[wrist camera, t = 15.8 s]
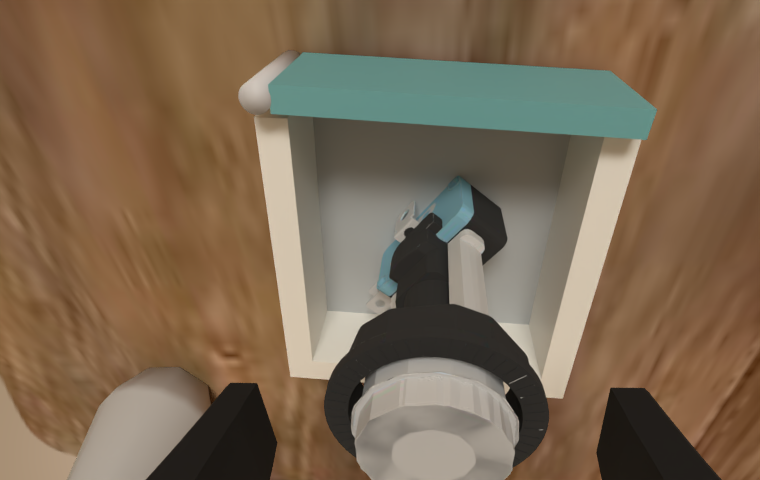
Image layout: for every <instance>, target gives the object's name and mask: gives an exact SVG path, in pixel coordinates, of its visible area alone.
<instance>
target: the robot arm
mask: <svg viewBox="0 0 760 480" xmlns="http://www.w3.org/2000/svg"><path fill="white" fill-rule="evenodd" d="M276 447H277V441H276V438H275V435H274V432H273V429H272V426H271V423H270V420H269V417H268V414H267V411H266V408H265V405H264V403H263V400H262V397H261V394H260V391H259V388H258V385H257V383H230V384H229V385H228V386H227V387H226V388H225V389H224V390H223V391H222V393H221V394H220V395H219V396H218V397H217V398H216V400H215V401H214V402H213V403H212V404H211V405H210V407H209V408H208V409H207V410H206V411H205V413H204V414H203V415H202V416H201V417H200V418H199V420H198V421H197V422H196V423H195V424H194V425H193V427H192V428H191V429H190V430H189V431H188V432H187V434H186V435H185V436H184V437H183V438H182V439H181V441H180V442H179V443H178V444H177V445H176V446H175V447H174V448H173V450H172V451H171V452H170V453H169V454H168V455H167V456H166V457H165V459H164V460H163V461H162V462H161V463H160V464H159V465H158V466H157V468H156V469H155V470H154V471H153V472H152V473H151V474H150V475H149V476H148V478H147V479H146V480H270V476H271V471H272V467H273V462H274V457H275V452H276ZM596 453H597V458H598V463H599V467H600V472H601V477H602V480H721V479H720V478H719V477H718V475H717V474H716V473H715V472H714V471H713V470H712V468H711V467H710V466H709V465H708V464H707V463H706V461H705V460H704V459H703V458H702V457H701V456H700V454H699V453H698V452H697V451H696V450H695V448H694V447H693V446H692V445H691V444H690V442H689V441H688V440H687V439H686V438H685V437H684V435H683V434H682V433H681V432H680V430H679V429H678V428H677V427H676V426H675V424H674V423H673V422H672V421H671V419H670V418H669V417H668V416H667V414H666V413H665V412H664V411H663V409H662V408H661V407H660V406H659V404H658V403H657V402H656V401H655V399H654V398H653V397H652V396H651V394H650V393H649V392H648V391H647V390H646V389H645V388H610V393H609V398H608V402H607V407H606V411H605V416H604V420H603V425H602V430H601V434H600V439H599V443H598V448H597V452H596Z"/></svg>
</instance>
